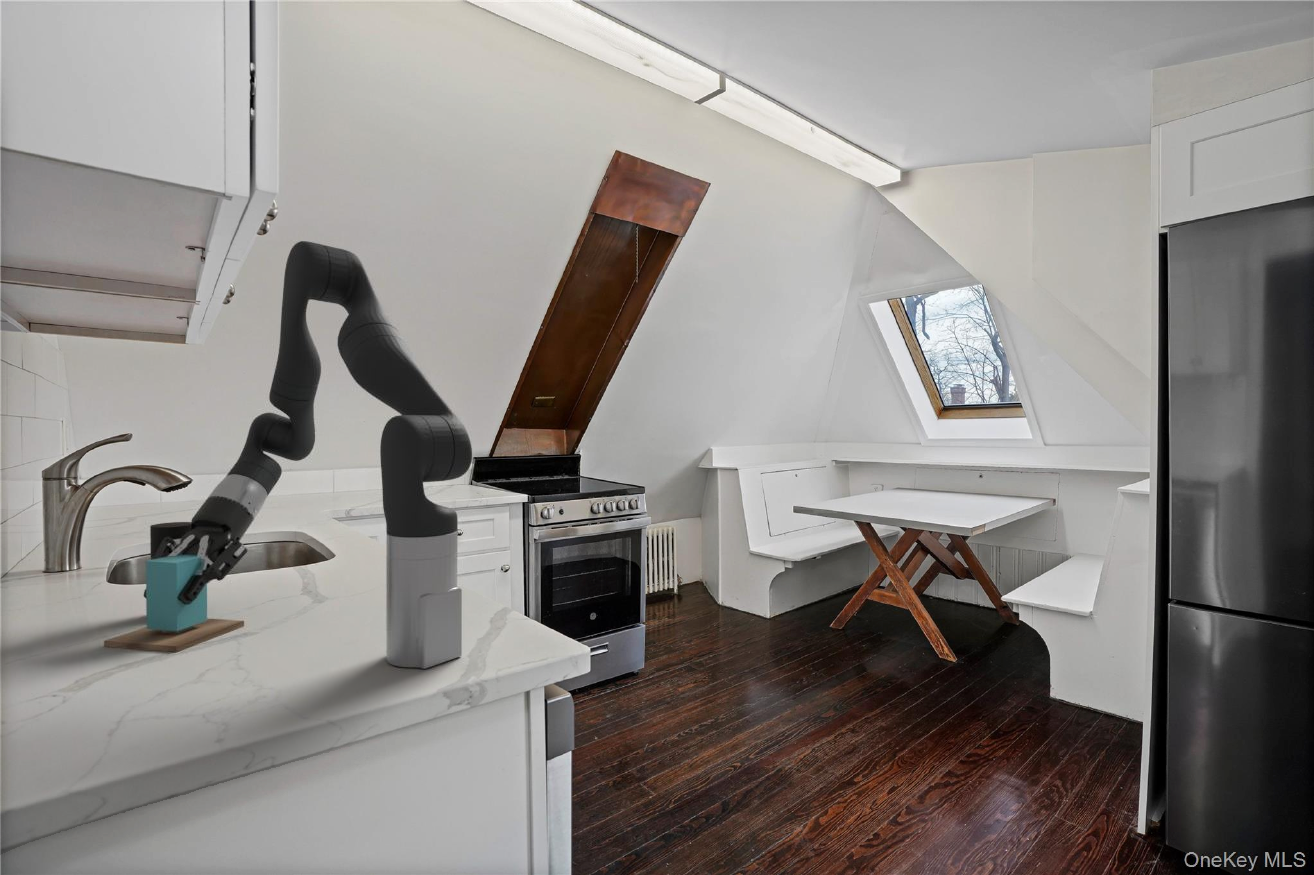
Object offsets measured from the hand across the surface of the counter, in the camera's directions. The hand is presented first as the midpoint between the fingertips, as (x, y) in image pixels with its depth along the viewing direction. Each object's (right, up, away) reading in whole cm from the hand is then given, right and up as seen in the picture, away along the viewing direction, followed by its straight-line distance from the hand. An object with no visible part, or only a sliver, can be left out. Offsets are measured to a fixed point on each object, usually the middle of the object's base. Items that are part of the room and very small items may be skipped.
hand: (166, 600), depth 97 cm
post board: (0, -6, +2) cm, 6 cm away
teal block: (0, -4, +2) cm, 5 cm away
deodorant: (-8, -6, +13) cm, 16 cm away
